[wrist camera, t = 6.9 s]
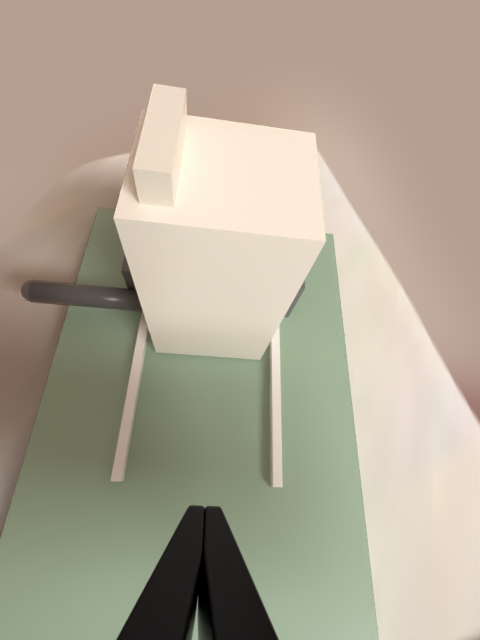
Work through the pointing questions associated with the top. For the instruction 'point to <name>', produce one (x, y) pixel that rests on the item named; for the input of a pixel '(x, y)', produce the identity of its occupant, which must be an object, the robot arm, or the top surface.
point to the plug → (209, 231)
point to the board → (188, 468)
